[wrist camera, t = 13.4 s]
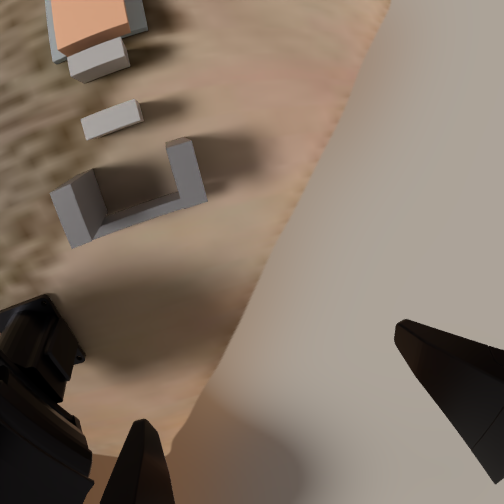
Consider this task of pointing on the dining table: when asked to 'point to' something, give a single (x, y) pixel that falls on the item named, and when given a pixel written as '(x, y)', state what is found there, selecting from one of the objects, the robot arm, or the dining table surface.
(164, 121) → the dining table surface
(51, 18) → the mat
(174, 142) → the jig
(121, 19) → the bar
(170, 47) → the dining table surface
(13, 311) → the robot arm
